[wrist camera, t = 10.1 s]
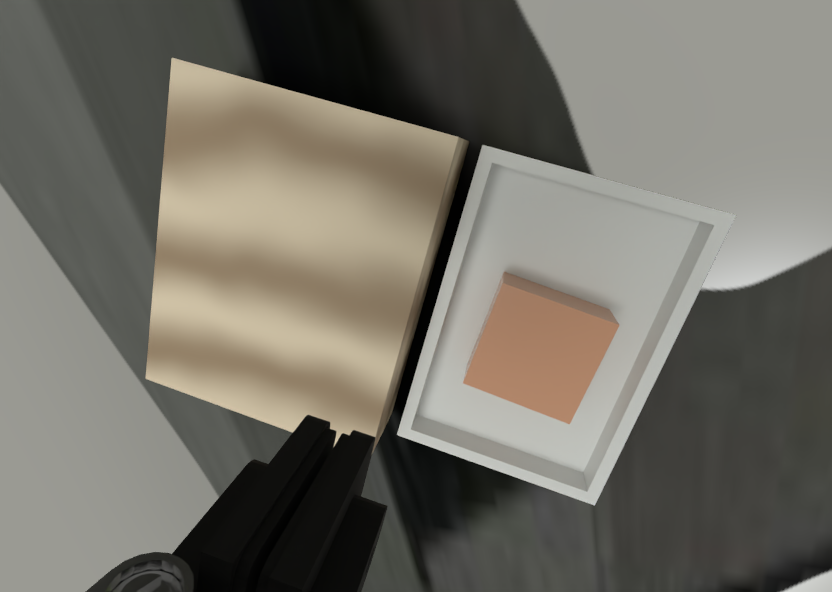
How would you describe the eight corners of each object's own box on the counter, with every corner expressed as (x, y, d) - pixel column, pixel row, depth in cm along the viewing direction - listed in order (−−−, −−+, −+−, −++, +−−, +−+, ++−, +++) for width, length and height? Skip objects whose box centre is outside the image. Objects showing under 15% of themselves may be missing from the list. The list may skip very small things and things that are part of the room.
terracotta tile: (619, 325, 27) (609, 309, 29) (502, 282, 27) (503, 271, 30) (569, 424, 29) (564, 400, 32) (462, 383, 29) (467, 363, 32)
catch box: (485, 145, 29) (482, 144, 26) (717, 210, 27) (736, 214, 25) (404, 416, 35) (396, 434, 33) (589, 481, 33) (594, 505, 31)
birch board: (235, 76, 31) (171, 57, 25) (469, 141, 29) (458, 136, 23) (202, 345, 37) (145, 378, 31) (392, 412, 35) (369, 460, 29)
